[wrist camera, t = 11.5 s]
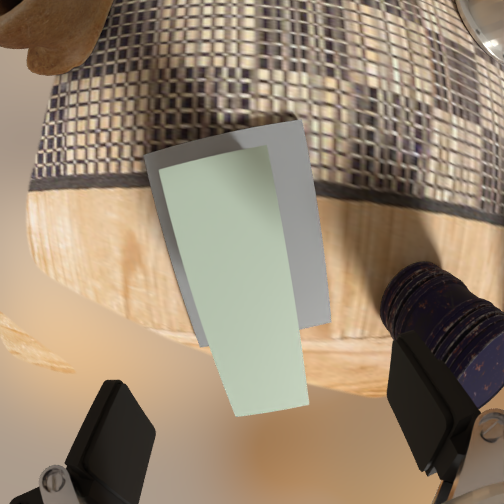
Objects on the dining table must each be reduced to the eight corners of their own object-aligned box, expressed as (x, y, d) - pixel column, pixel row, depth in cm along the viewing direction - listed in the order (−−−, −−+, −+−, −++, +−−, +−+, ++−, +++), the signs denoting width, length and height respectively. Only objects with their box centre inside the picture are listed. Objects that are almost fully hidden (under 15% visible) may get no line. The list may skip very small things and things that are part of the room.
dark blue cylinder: (401, 348, 33) (457, 430, 18) (363, 304, 30) (429, 398, 16) (455, 295, 31) (529, 358, 16) (426, 242, 28) (521, 302, 14)
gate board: (147, 154, 25) (103, 156, 16) (299, 120, 24) (327, 103, 15) (201, 340, 31) (190, 401, 22) (328, 316, 30) (355, 371, 22)
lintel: (177, 166, 16) (158, 169, 13) (261, 147, 16) (266, 144, 12) (236, 379, 21) (235, 416, 18) (299, 367, 21) (309, 404, 17)
